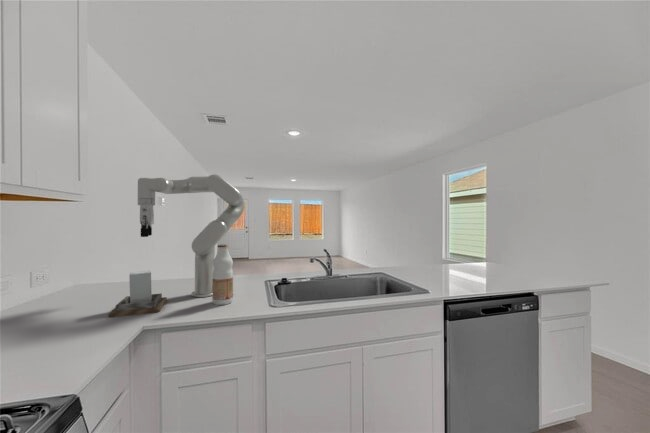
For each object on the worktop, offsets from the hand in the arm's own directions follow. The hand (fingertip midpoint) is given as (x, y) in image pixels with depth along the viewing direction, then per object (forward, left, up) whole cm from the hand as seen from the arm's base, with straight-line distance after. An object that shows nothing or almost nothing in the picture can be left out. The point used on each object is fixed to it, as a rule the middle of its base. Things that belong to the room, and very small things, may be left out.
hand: (146, 236), depth 140 cm
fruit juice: (-36, +21, -32) cm, 53 cm away
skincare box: (-2, +17, -30) cm, 35 cm away
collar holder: (-1, +17, -31) cm, 36 cm away
